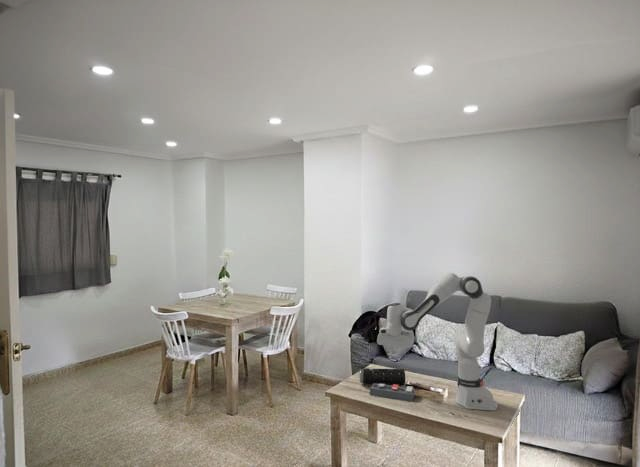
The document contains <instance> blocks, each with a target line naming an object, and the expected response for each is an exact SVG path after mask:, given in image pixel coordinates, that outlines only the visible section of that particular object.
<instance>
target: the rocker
mask: <svg viewBox="0 0 640 467" xmlns="http://www.w3.org/2000/svg"><path fill="white" fill-rule="evenodd" d="M406 388H407V389H406V392H412V389H414V386H408V385H407V386H406Z"/></svg>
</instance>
